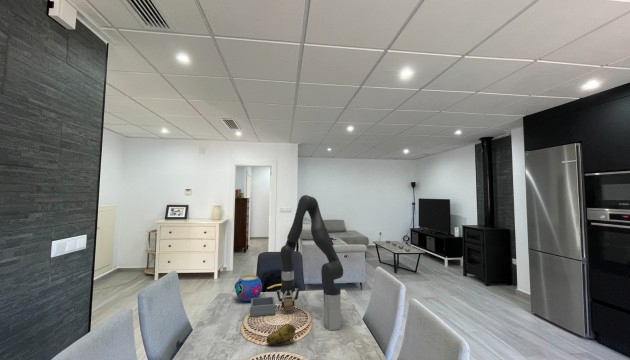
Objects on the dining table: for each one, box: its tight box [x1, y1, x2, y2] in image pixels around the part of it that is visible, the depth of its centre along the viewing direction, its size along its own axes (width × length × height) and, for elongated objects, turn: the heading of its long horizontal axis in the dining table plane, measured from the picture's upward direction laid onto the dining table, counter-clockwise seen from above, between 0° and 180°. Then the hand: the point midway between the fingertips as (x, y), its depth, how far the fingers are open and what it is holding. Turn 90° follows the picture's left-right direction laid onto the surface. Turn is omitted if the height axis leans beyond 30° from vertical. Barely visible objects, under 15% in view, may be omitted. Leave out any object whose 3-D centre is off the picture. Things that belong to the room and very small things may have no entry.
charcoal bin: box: [250, 296, 276, 318], centre depth 161 cm, size 14×14×6 cm
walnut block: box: [283, 296, 294, 311], centre depth 159 cm, size 5×5×6 cm
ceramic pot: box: [234, 274, 263, 302], centre depth 181 cm, size 18×18×15 cm
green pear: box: [266, 323, 296, 345], centre depth 125 cm, size 8×13×8 cm, turn 83°
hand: (288, 307), depth 159 cm, fingers closed on walnut block, 5 cm apart
